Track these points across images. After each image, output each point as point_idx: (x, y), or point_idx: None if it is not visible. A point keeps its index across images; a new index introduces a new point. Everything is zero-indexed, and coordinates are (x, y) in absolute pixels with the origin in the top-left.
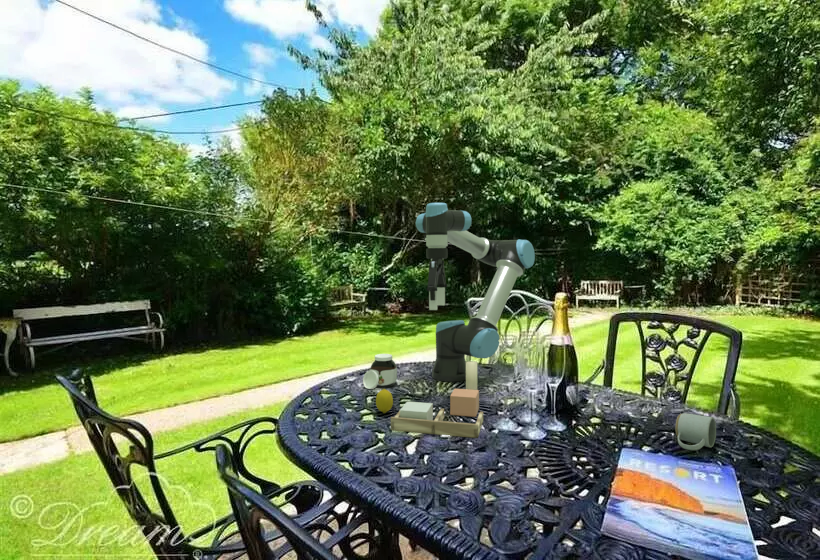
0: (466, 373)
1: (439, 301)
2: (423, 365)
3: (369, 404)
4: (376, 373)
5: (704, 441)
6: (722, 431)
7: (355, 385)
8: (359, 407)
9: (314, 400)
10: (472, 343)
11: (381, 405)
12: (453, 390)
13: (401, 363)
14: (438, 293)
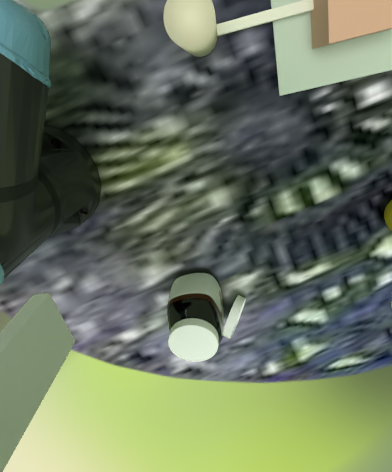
0: (209, 42)
1: (52, 353)
2: (4, 279)
3: (341, 259)
4: (231, 316)
5: None
6: None
7: None
8: (366, 268)
9: (344, 353)
10: (36, 68)
11: None
12: (353, 37)
13: None
14: (9, 439)
